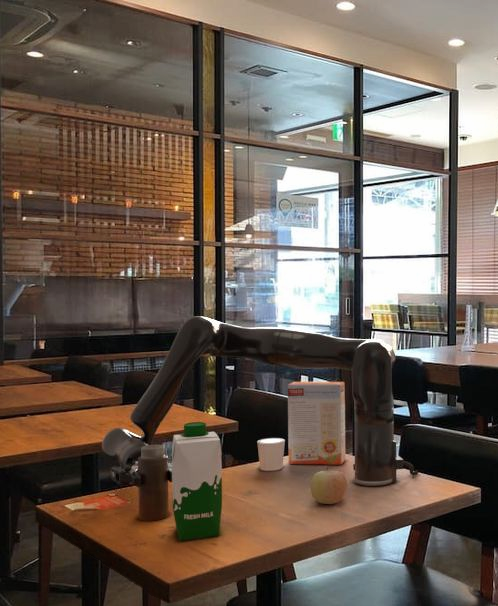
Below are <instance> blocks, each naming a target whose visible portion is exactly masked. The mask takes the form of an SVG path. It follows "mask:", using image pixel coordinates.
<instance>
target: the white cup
mask: <svg viewBox="0 0 498 606" xmlns="http://www.w3.org/2000/svg"><path fill="white" fill-rule="evenodd" d="M256 443H257V449H258V450H257V451H258V462H259V469H260V470H261V471H265V472H266V471H267V472H268V471H269V472H273V471H279V470H282V469H283V466H284V455H285V446H286V445H285V443H286V439H284V438H281V437H267V438H261V439H259V440H257V441H256Z"/></svg>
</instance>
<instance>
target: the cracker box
mask: <svg viewBox="0 0 498 606" xmlns="http://www.w3.org/2000/svg"><path fill="white" fill-rule="evenodd" d="M345 390H346V389H345V382H344V381H293V382H290V383H288V384H287V433H288V434H287V437H288V438H287V440H288V441H287V443H288V445H287V446H288V464H289V465H331V466H333V465H336V466H337V465H338V466H340V465H342V464H343V463H344V462H345V461H346V398H345V397H346V394H345Z"/></svg>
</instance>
